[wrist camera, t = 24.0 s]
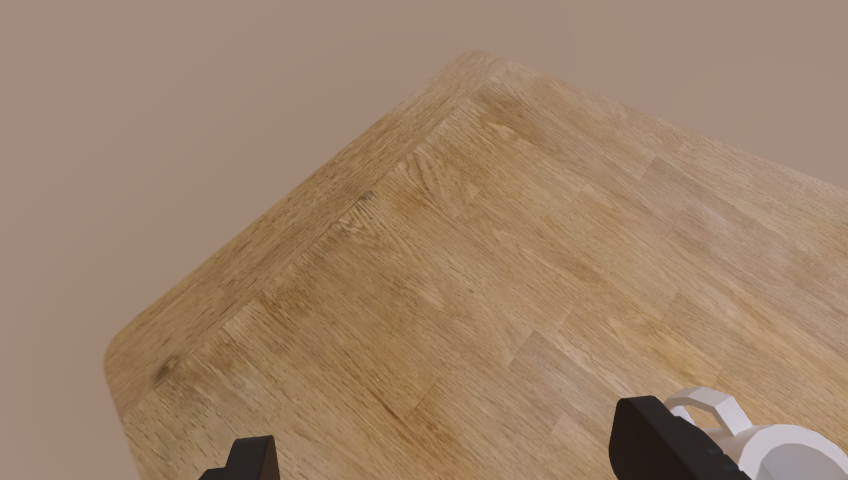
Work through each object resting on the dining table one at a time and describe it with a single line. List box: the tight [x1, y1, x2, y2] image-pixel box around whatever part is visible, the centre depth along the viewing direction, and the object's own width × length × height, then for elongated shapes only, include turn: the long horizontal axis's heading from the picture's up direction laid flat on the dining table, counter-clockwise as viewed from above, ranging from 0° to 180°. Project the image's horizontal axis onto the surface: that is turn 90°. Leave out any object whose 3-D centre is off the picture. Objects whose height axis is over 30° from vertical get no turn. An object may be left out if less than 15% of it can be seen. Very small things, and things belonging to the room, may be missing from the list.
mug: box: [663, 386, 848, 480], centre depth 34 cm, size 14×10×11 cm
